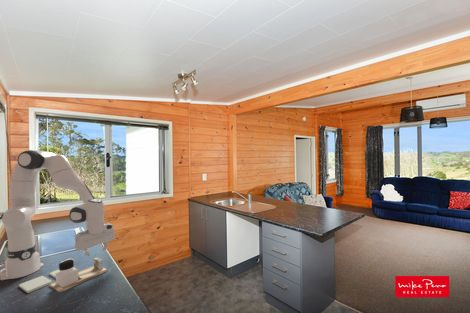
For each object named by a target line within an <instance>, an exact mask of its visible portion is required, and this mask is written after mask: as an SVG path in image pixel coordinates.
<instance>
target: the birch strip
mask: <svg viewBox="0 0 470 313" xmlns="http://www.w3.org/2000/svg"><path fill="white" fill-rule="evenodd" d="M103 263H104V260H103V259H102V258H99V257H94V258H93V265H91V266H89V267H86V268H84V269H82V270H79V272H78V278H79V281H76V282H74V283H72V284H70V285H67V286H65V287H63V288H62V287H60V286H58V285H57V284H56V280H55V281H52V283H50V284H49V285H48V286H49V287H50V288H51V289H53V290H55V291H56V292H58V293H63V292H65V291H67V290H70V289H72V288H74V287H76V286H78V285H80V284H82V283H84V282H87V281H89V280H91V279H93V278H96V277H98V276H99V275H102V274H104V273H107V272H108V268H105V267H104V264H103Z"/></svg>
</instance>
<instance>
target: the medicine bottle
mask: <svg viewBox="0 0 470 313" xmlns="http://www.w3.org/2000/svg"><path fill="white" fill-rule="evenodd" d="M67 259H68V260H67ZM67 259H65V260H63V261H60V262H59V264H58V268H59V271H58V272H56V273H55V274H56V278H55V281H56V284H57V285H58V286H60V287H62V288H63V287H65V286H67V285H70V284H72V283H74V282H76V281H79V278H78V270H79V269H78V268H74V260H75V259H73V260H71V259H72V258H71V259H70V258H67Z"/></svg>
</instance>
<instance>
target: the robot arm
mask: <svg viewBox="0 0 470 313" xmlns="http://www.w3.org/2000/svg"><path fill="white" fill-rule="evenodd" d="M40 171H48V173H49V175H50V177H51V180H52V182H53V183H54V185H55V186H56V187H58V188H61V189H64V190H69V191H73V192H75V193H76V194H77V195H78V196H79V198H80V199H81V200H82V202H83V203H82V204H79V205H77V206H74V207H72V208H71V209H70V210H69V212H68V217H69V220H70V221H71V222H72V223H74V224H81V223H86V224H85V225H86V229H85V230H83V231H79V232H78V233H76V234H75V236H74V240H75V243H74V249H75V250H77V251H83V253H84V256H85V257H89V256H90V252H89V251H88V249H90V248H92V247H95V246H98V245H101V244H104V245H103V246H102V250H103V251H105V250H107V248H108V245H109V243H110V241H114V240H115V238H116V230H115V229H114V224H112V223H109V222H106V221H105V219H104V218H105V205H104V202H103V200H102V199H99V198H95V197H94V195H93V193H92V192H91V190H90V189H89V187H88V186H87V184H86V183H85V181H84V180H82V179H81V178H80V177H79V176H78V175H77V173H76V172H75V170H74V168H73V166H72V164H71V162H70V161H69V159H67V157H66V156H65V155H62V154H59V153H57V152H53V151H47V150H30V149H29V150H24V151H21V152H20V153H19V155H17V163H15V165H14V166H13V170H12V173H11V178H10V186H9V193H8V195H9V197H10V208H9V209H7V210H6V211H5V212H4V213H3V215H2V218H1V222H2V224H3V226H4V229H5V232H6V235H7V244H8V245H7V247H8V248H7V250H8V251H7V254H6V255H7V256H6V257H7V258H6V259H5V261H4V264H1V265H0V281H6V280H13V279H19V278H23V277H26V276H30V275H32V274H34V273H36V272H38V270H40V269H41V268H42V267H43V266H44V265H45V264H44V263H42V262H41V257H40V255H41V254H40V252H38V251H37V246H36V244H35V231H34V228H33V226H32V218H33V217H34V216H35V213H36V190H37V181H38V173H39V172H40Z"/></svg>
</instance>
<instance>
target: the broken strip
mask: <svg viewBox="0 0 470 313" xmlns="http://www.w3.org/2000/svg"><path fill="white" fill-rule="evenodd" d="M68 259H71V260H74V268H76V260H75V259H73V258H70V257H69V258H67V259H66V260H68ZM76 269H77V268H76ZM58 271H59V269H56V270H53V271H51V272H49V276H50V277H52V278H54V279H56V274H55V273H56V272H58ZM79 271H80V269H78V272H79ZM52 282H53V280H51V279H49V278H47V277H46V276H44V275H40V276H38V277H35V278H31V279H30V280H27V281H25V282H22V283H20V284H18V287H19V288H20V289H21V290H23V291H24V292H26V294H29V293H32V292H35V291H37V290H39V289H43V288H44V287H47V286H49V284H50V283H52Z"/></svg>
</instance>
